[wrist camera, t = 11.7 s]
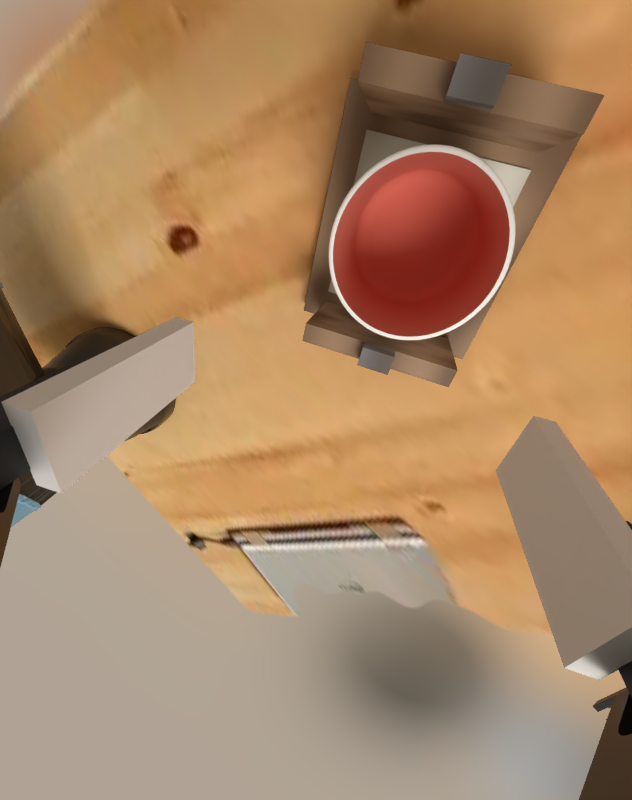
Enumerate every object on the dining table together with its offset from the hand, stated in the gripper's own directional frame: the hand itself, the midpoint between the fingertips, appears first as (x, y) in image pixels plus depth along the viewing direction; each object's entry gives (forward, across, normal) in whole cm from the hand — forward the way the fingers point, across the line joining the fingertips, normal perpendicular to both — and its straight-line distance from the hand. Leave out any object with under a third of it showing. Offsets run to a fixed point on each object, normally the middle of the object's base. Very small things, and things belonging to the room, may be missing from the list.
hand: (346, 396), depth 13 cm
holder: (+21, +2, +4) cm, 22 cm away
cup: (+20, +2, +4) cm, 20 cm away
